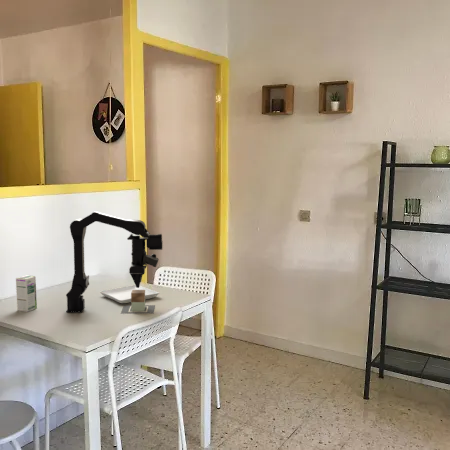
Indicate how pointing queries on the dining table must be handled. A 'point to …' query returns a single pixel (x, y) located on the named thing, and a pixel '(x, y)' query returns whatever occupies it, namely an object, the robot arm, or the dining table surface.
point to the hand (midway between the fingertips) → (138, 284)
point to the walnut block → (138, 296)
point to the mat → (148, 310)
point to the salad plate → (127, 293)
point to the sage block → (137, 306)
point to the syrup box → (26, 293)
